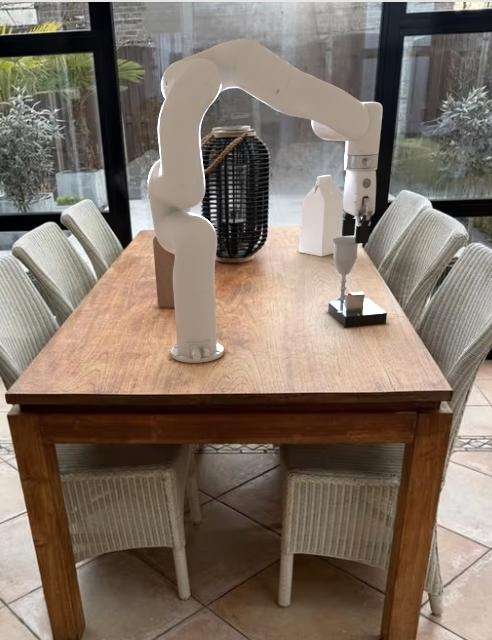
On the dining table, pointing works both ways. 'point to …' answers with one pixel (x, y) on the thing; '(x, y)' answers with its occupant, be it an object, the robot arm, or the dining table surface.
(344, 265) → the chalice
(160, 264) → the block
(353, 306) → the box with red tab
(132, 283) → the dining table surface
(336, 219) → the milk
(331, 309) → the black knob base
